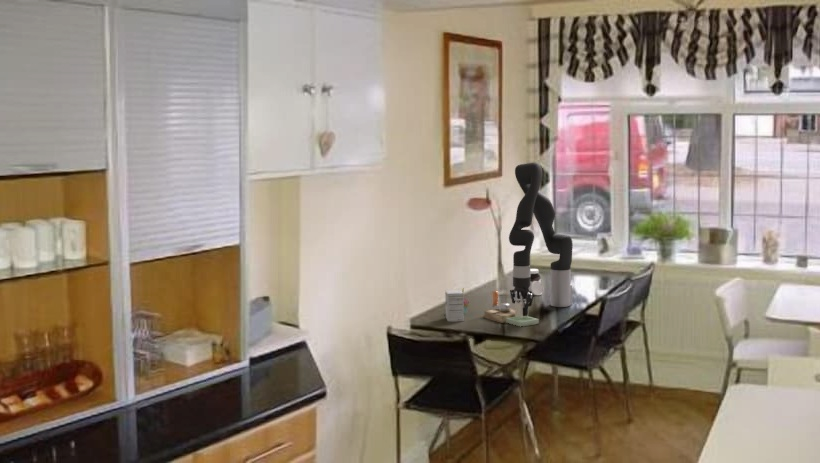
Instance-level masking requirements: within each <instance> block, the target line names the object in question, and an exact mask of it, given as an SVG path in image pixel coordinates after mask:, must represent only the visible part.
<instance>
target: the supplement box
mask: <svg viewBox="0 0 820 463" xmlns="http://www.w3.org/2000/svg"><path fill="white" fill-rule="evenodd" d="M444 298H445V318H446V321H447V322H448V323H449V322H464V321H465V314H464V299H465V296H464V292H462V290H461V289H454V290H453V289H452V290H449V289H447V290H445V296H444Z"/></svg>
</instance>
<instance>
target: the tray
mask: <svg viewBox="0 0 820 463" xmlns="http://www.w3.org/2000/svg"><path fill="white" fill-rule="evenodd" d="M539 322H540V321H539V318H535V317H532V316H529V315H528V317H523V318H520V317H510V318H506V322H505V323H506V324H508V323H509V325H512V324H513V325H512V326H515V325H516V327H519V326H520V327H519V328H522V327H521V326H523V327H528V326H534V325H538V324H539Z"/></svg>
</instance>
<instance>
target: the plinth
mask: <svg viewBox="0 0 820 463" xmlns="http://www.w3.org/2000/svg"><path fill="white" fill-rule="evenodd" d="M483 313H484V314H483V315H484V316H483V318H484V319H487V320H490V321H495V322H498V323H501V324H504V323H506V318H510V317H516V316H515V308H512V307H511V311H510V312H500V311H499V309H498V308H493V309H489V310H484V311H483Z"/></svg>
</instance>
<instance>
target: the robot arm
mask: <svg viewBox="0 0 820 463" xmlns="http://www.w3.org/2000/svg"><path fill="white" fill-rule="evenodd" d="M514 174H515V179H516V181H517V184H519V187H520V188H521V190H522V192H523V193H524V196H523V197H522V198H521V199H520V201H519V203H518V205H517V207H516V208H517V209H516V213H515V214H516V215H515V220H514V223H513V226H512V228H511V229H510V232H509V234H508V241H509V244H510V245H512V246H514V247H524V248H523V250H518V251H515V252H514V253H513V256H512V257H513V260H512V262H513V269H512V286H513V287H514V289H510V290H509V294H510V298H511V304H514V305H515V303H516V302H522V304H523V316H527V315H528V316H529V307H532V305H533V300H534V296H535V295H534V294H531V293H529V287H530V285H531V280H530V279H531V276H530V269H531V250H532V247H533V244H534V240H535V234H534V232H533V230H531V229H525V228H528V227H530V226H531V225H532V223H533V217H534V218H535V219H536V221H537V224H538V227H539V229H540V231H541V234H542V237H543V240H544V243H545V246H546V248H547V251H548V252H549V253H551V254H553V255H559V258H558V259H557V260H555V261H552V262H551V263H550V306H552V307H557V308H567V307H570V306H572V305H573V284H571V279H572V278H571V275H572V274H571V267H572V266H571V265H572V262H573V261H572V260H573V246H574V245H573V239H572V237H571V236H570V235H568V234H558V233H556V231H555V229H554V226H553V224H554V222H555V217H556V210H555V208H554V204H553V203H552V201H551V200H550V198H548V196H546V195H545V194H544V193H542V191H540V188H541V184H542V179H543V168H542V165H541V164H540V163H539V162H528V163H522V164H518V165H517V166H516V167H515V168H514ZM525 302H526V304H525Z"/></svg>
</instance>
